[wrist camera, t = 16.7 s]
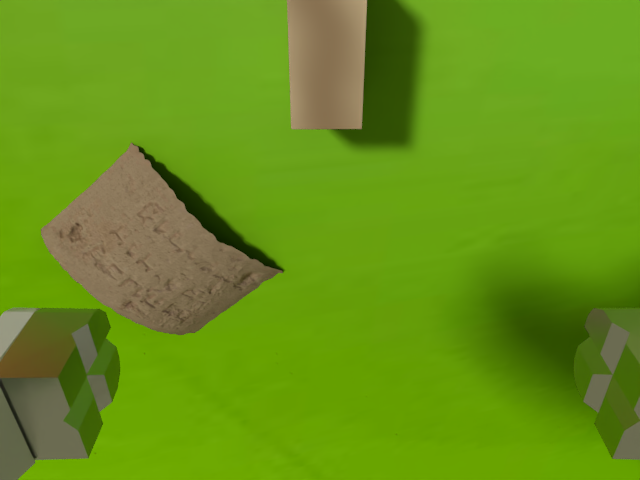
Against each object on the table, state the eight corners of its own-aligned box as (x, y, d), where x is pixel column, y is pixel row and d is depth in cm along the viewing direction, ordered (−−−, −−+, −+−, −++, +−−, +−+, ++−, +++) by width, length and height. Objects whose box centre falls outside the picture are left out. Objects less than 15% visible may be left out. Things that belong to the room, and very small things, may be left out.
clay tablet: (291, 268, 38) (290, 292, 36) (197, 341, 42) (190, 367, 40) (122, 124, 33) (107, 141, 30) (31, 223, 36) (11, 245, 34)
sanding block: (360, -40, 28) (368, -28, 23) (356, 97, 31) (361, 129, 27) (291, -40, 28) (286, -27, 23) (295, 97, 31) (291, 129, 27)
